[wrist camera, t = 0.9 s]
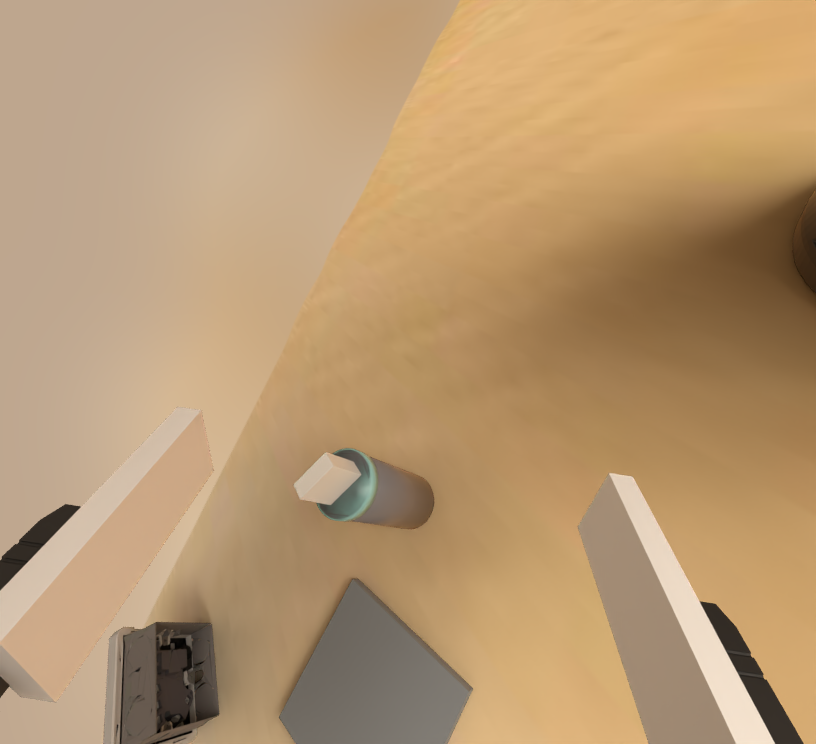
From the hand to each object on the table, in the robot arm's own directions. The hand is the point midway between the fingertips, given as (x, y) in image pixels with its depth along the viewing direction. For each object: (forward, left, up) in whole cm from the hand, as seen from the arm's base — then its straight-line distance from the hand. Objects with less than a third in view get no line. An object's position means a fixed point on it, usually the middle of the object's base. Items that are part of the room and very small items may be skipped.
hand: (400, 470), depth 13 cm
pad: (+18, -5, -21) cm, 28 cm away
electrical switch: (+28, -21, -21) cm, 41 cm away
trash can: (+4, -10, -21) cm, 23 cm away
